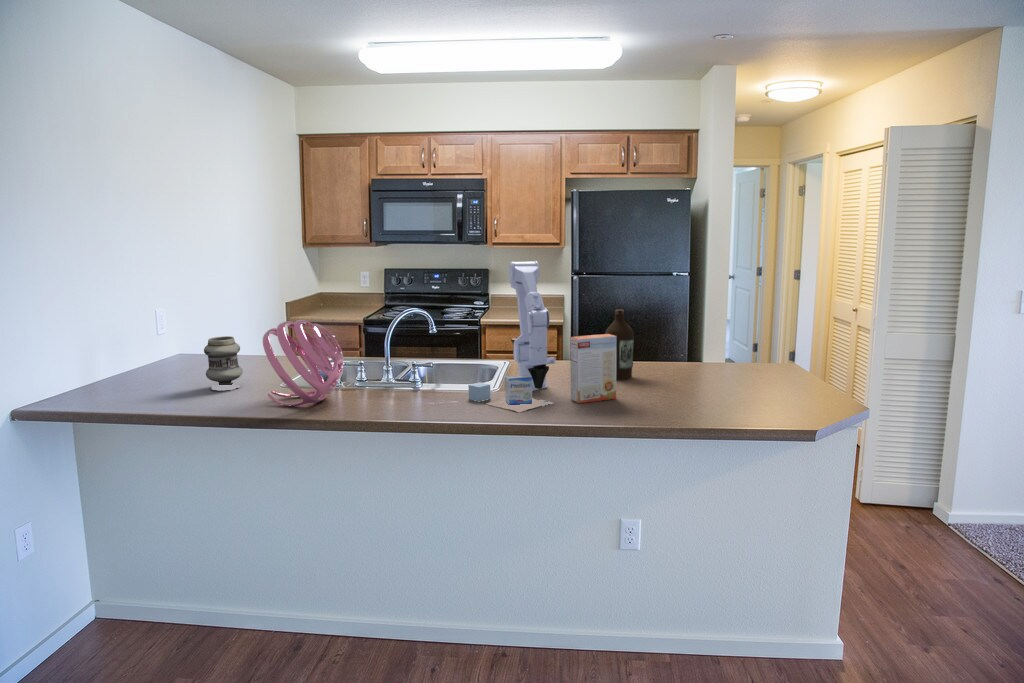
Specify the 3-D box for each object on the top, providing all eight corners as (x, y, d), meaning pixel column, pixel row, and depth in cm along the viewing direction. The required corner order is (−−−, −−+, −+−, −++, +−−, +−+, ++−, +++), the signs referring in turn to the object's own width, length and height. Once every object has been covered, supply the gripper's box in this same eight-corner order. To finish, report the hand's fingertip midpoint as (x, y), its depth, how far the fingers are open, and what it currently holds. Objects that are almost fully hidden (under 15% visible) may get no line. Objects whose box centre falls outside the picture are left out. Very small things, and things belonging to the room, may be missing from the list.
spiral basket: (219, 348, 218) (291, 298, 216) (263, 353, 245) (327, 309, 244) (265, 425, 214) (338, 374, 212) (305, 422, 242) (370, 377, 240)
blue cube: (480, 397, 236) (479, 382, 235) (490, 399, 232) (490, 384, 231) (468, 399, 232) (468, 384, 231) (479, 402, 229) (478, 387, 228)
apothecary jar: (199, 391, 247) (194, 339, 244) (223, 383, 259) (219, 334, 256) (227, 393, 244) (223, 341, 241) (251, 385, 255) (247, 336, 252)
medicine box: (508, 405, 223) (508, 378, 222) (504, 402, 227) (504, 375, 226) (532, 403, 225) (532, 377, 224) (528, 400, 229) (528, 374, 228)
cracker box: (607, 395, 236) (608, 333, 232) (616, 399, 230) (617, 335, 226) (569, 399, 231) (569, 335, 227) (577, 404, 225) (578, 338, 222)
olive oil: (598, 376, 263) (598, 309, 259) (618, 373, 270) (619, 307, 265) (618, 382, 255) (619, 312, 251) (639, 378, 261) (640, 310, 257)
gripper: (531, 351, 222) (531, 394, 224) (562, 345, 232) (562, 386, 234) (515, 348, 227) (516, 390, 229) (546, 343, 237) (546, 383, 239)
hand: (538, 388), depth 232 cm, fingers closed
